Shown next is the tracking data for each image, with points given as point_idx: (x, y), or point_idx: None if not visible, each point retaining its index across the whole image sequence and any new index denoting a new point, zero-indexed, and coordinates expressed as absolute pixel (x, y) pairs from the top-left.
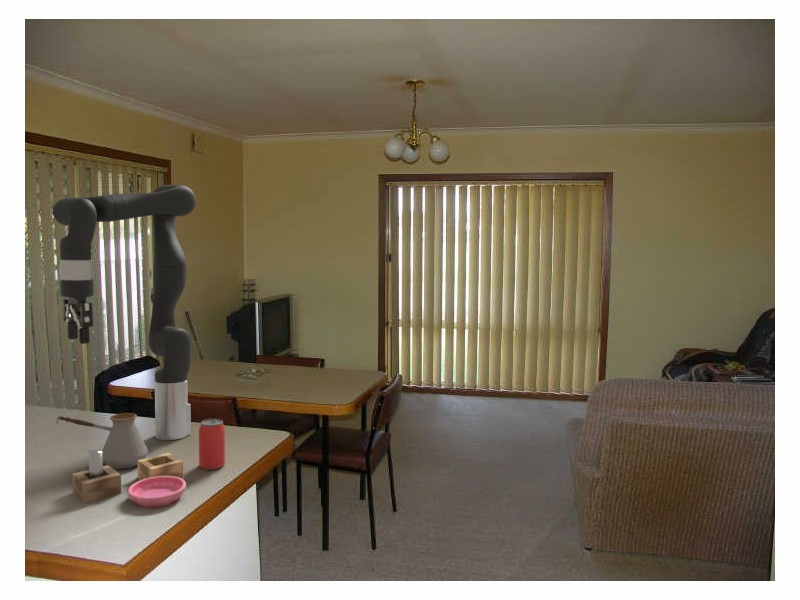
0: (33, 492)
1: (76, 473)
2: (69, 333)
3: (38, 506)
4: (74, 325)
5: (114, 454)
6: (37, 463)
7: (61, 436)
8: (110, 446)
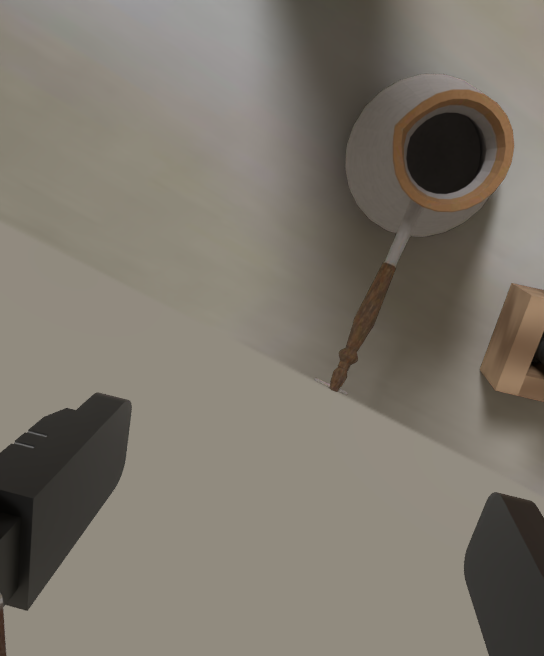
0: (392, 417)
1: (505, 383)
2: (89, 510)
3: (482, 452)
4: (39, 532)
5: (457, 221)
6: (204, 312)
7: (15, 140)
8: (437, 222)
